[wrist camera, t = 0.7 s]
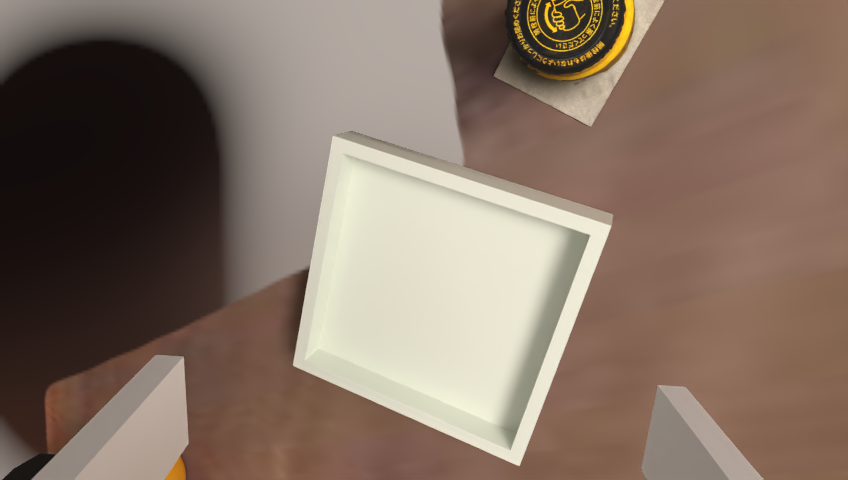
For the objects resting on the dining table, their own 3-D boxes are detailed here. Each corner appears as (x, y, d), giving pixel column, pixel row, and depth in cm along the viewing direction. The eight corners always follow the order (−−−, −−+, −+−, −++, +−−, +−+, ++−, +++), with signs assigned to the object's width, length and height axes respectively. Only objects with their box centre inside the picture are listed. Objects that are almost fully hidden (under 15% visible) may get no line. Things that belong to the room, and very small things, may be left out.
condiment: (665, -2, 34) (679, -32, 23) (590, 126, 37) (572, 152, 26) (557, -53, 35) (521, -104, 24) (494, 76, 38) (439, 81, 28)
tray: (351, 130, 43) (332, 135, 40) (613, 214, 38) (611, 225, 35) (311, 349, 50) (292, 365, 48) (526, 442, 46) (519, 466, 43)
